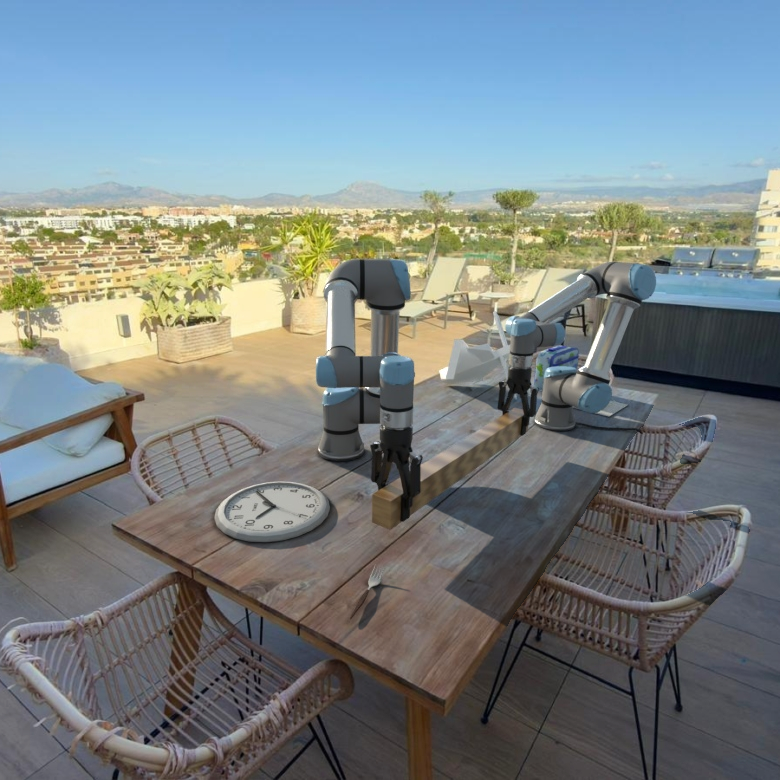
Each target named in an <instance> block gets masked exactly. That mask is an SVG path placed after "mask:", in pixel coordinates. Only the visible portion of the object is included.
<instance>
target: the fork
mask: <svg viewBox="0 0 780 780" xmlns="http://www.w3.org/2000/svg"><path fill="white" fill-rule="evenodd" d="M376 565H377V564H376V563H375V564H374V567H373V569H372V571H371V574H370V576H369V578H368V581H367V583H368V587H367V588H366V590H365V591H364V592H363V594H362V595H361V596H360V597H359V598H358V600H357V603H356V605H355V607H354V608H353V611H352V613H351V616H350V618H349V620H352V619H353V617H354V616H355V615H356V614H357V612H358V611H359V609H360V608H361V607H362V606H363V604H364V603H365V602H366V600H367V598H368V594H369V592H370V590H371V588H373V587H376V586H378V585H380V584H381V581H382V578H383V575H384V571H385V567H386V566H383V568H382V565H381V566H380V568H379V564H378V565H377V568H376ZM375 568H376V570H375ZM378 570H379V571H378ZM381 570H382V571H381Z"/></svg>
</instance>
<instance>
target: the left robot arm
mask: <svg viewBox="0 0 780 780" xmlns="http://www.w3.org/2000/svg"><path fill="white" fill-rule="evenodd" d="M410 281H411V280H410V273H409V267H408V264H407V262H406V261H405V260H403V259H394V258H351V259H348V260H346V261H343V262H341V263H340V264H338V266H335V268H334V269H333V270H332V271H331V272H330V273H329V275H328V277H327V278H326V280H325V283H324V286H323V299H324V300H325V302H326V320H325V321H326V322H325V323H326V324H325V346H324V347H325V348H324V355H319V356H317V357H316V360H315V382H316V385H317V386H318V387H320V388H325V389H324V391H323V394H322V402H321V405H322V411H323V412H322V418H323V419H322V423H323V424H322V425H323V432H322V435H321V438H320V441H319V444H318V455H319V457H321V458H322V459H324V460H326V461H330V462H351V461H354V460H357V459H359V458H361V457H362V456H363V455H364V453H365V442H364V441H363V439H362V437H361V434H360V430H359V428H360V427H359V425H379V440H377V441H375V442H373V443H371V444H370V445H369V447H370V451H371V469H370V470H371V471H370V481H371V482H372V483H375V484H376V486H377V491H378V490H380V489H382V488H383V487H385V486H387V485H388V484H389V478H390V477H389V476H390V473H391V470H392V466H393V464H395V467H396V469H397V470H398V473H399V478H400V479H401V484H402V488H403V493H404V495H402V496H401V519H400V521H402V522H401V523H403V522H405V521H407V520H408V519H409V518H410V517H411V515H410V508H411V507H412V506H413V497H415V496H417V495H418V494H420V492H421V464H422V462H423V458H424V457H423V455H422V454H419V455H417V454H416V453H415V452H414V451H413V448H412V442H413V439H414V438H413V433H414V426H413V424H414V390H415V378H416V372H415V362H414V359H412V358H411V357H408V356H405V355H401V354H399V336H400V335H399V334H400V313H401V311H402V309H404V308H405V306H406V302H407V301H410V300H411V295H412V293H411V292H412V291H411V282H410ZM358 300H359V301H360V300H361V301H365V306H366V307H367V308H368V309H369V310H370V355H356V309H355V308H356V307H355V306H356V305H355V304H356V303H357V301H358Z"/></svg>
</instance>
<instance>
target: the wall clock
mask: <svg viewBox="0 0 780 780" xmlns="http://www.w3.org/2000/svg"><path fill="white" fill-rule="evenodd" d="M330 509H331V506H330V501H329V499H328V497H327V496H326V495H325V493H323V492H322V491H320V490H318V488H315V487H313V486H312V485H311V486H310V485H308V484H305V483H300V482H295V481H294V482H292V481H269V482H263V483H262V482H261V483H258V484H253V485H250V486H246V487H244V488H242V489H240V490H238V491H236V492H233V493H232V494H230V495H229V496H227V498H224V500H222V501H221V502H220V504H219V505H218V507H216V509H215V513H214V518H213V519H214V522H215V525H216V527H217V528H218V529H219V530H220V531H221V532H222V533H223V534H225V535H226V536H229V537H231V538H233V539H235V540H236V539H237V540H240V541H245V542H250V543H251V542H252V543H271V542H280V541H285V540H289V539H293V538H297V537H300V536H302V535H304V534H308V532H311V531H313V530H314V529H316V528H317V527H319V526H320V525H322V523H323V522H324V521H325V520H326V519H327V518H328V516H329V513H330Z"/></svg>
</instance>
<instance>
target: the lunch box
mask: <svg viewBox="0 0 780 780" xmlns="http://www.w3.org/2000/svg"><path fill="white" fill-rule="evenodd" d="M579 354H580V351H579V348H577V347H572V346H567V345H566V346H565V345H555V346H552V347H549V348H547V349H544V350H542V351H540V352H539V353H538V355H537V357H536V360H535V369H534V381H533V386H534V387H538V388H539V391H538V393H542V390H543V379H544V375H545V370H546V369H547V368H549V367H555V366H567V367H574V368H576V369H577V370H578V366H579V357H580V356H579Z"/></svg>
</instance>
